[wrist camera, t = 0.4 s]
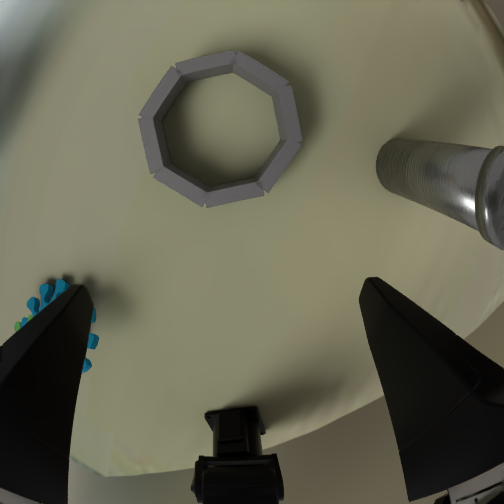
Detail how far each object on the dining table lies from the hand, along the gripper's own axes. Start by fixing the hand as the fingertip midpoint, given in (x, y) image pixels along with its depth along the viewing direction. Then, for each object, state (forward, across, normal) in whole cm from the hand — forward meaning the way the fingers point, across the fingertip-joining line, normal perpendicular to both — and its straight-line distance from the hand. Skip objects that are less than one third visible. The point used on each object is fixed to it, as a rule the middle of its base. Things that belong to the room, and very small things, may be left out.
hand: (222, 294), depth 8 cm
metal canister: (+14, -14, 0) cm, 20 cm away
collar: (+15, 0, -2) cm, 15 cm away
